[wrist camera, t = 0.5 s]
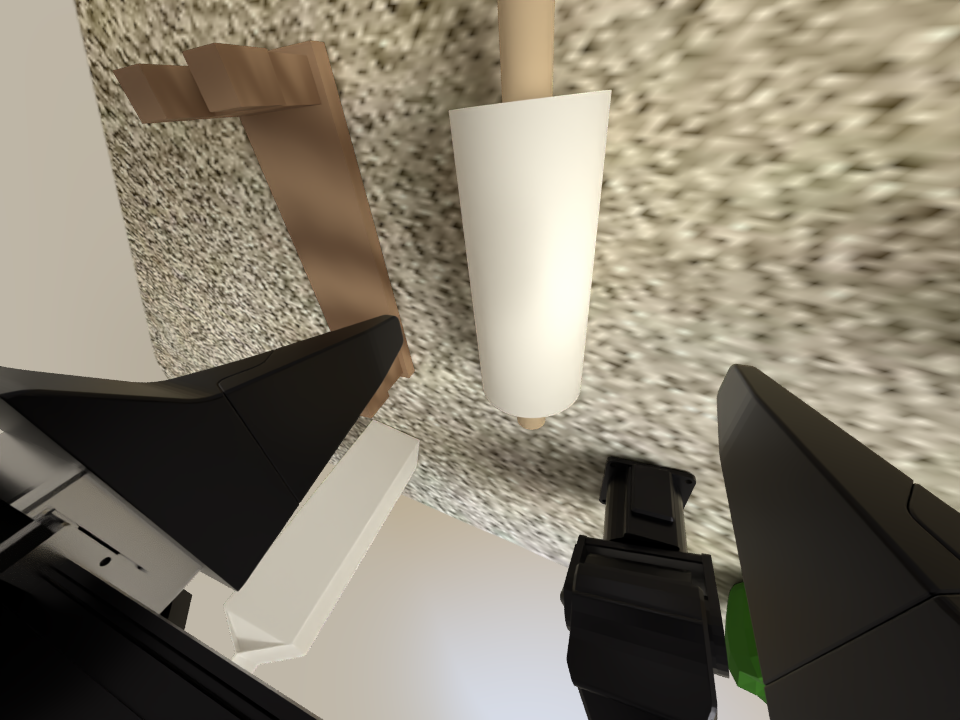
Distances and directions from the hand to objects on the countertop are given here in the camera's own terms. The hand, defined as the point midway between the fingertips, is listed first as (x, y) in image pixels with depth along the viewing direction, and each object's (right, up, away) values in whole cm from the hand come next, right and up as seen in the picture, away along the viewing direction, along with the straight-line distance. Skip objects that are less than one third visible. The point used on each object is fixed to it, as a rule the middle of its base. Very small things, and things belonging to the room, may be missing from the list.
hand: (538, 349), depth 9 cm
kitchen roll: (+1, +4, +9) cm, 10 cm away
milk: (-11, -10, +30) cm, 34 cm away
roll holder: (-12, +8, +16) cm, 21 cm away
